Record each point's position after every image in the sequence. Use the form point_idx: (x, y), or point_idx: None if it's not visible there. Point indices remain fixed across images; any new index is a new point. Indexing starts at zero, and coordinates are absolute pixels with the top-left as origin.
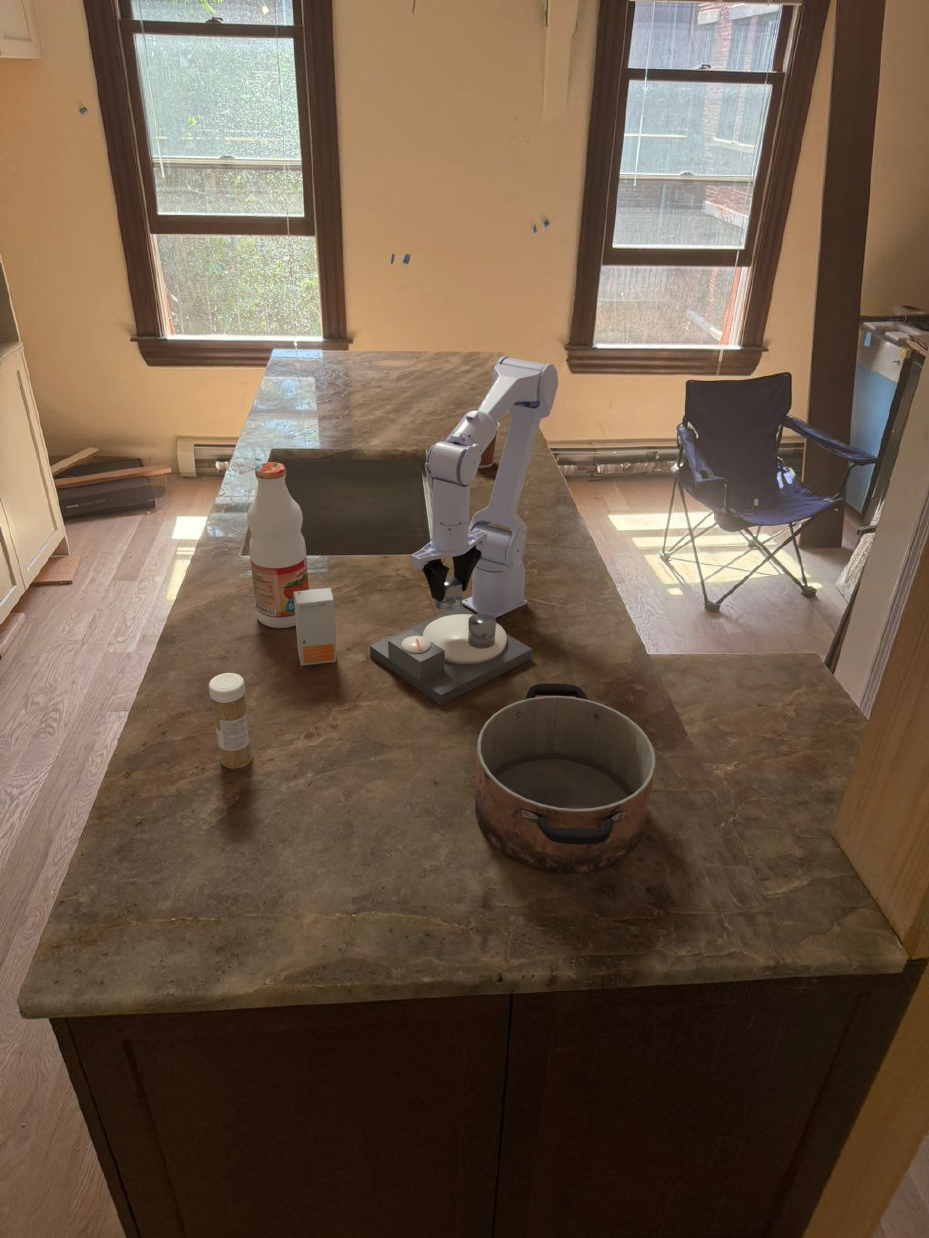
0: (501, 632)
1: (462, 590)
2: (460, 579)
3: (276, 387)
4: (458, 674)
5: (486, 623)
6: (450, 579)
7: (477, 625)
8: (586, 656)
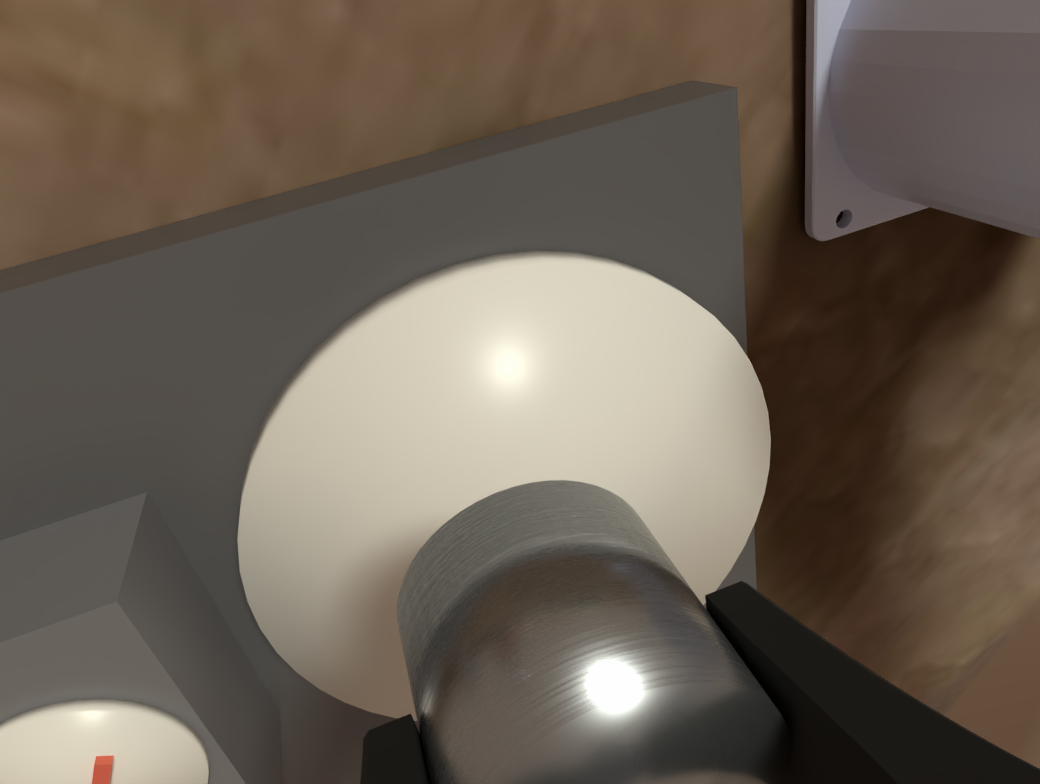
0: (726, 545)
1: None
2: (791, 757)
3: None
4: (334, 755)
5: None
6: (696, 757)
7: None
8: (892, 616)
